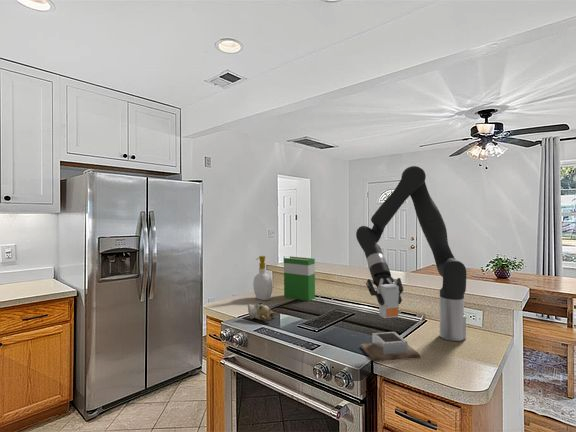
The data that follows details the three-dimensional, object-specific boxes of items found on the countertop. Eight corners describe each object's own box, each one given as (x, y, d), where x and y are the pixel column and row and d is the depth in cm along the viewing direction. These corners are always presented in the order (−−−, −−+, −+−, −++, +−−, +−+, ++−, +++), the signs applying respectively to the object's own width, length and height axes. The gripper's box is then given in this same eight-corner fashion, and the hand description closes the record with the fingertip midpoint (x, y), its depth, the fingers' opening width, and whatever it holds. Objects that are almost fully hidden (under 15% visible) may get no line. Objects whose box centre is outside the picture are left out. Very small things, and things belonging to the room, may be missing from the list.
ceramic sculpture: (252, 298, 180) (279, 302, 175) (252, 314, 181) (279, 318, 176) (243, 303, 170) (272, 308, 165) (243, 321, 170) (271, 326, 166)
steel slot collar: (394, 342, 139) (394, 331, 139) (407, 353, 129) (407, 341, 129) (372, 344, 138) (372, 333, 137) (383, 355, 127) (383, 343, 127)
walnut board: (403, 343, 141) (403, 340, 141) (420, 357, 128) (420, 354, 128) (360, 346, 138) (360, 344, 138) (373, 361, 125) (373, 358, 125)
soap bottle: (248, 298, 212) (248, 255, 211) (259, 295, 218) (259, 254, 217) (265, 302, 202) (264, 258, 201) (276, 299, 208) (275, 256, 207)
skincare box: (384, 318, 130) (384, 287, 130) (379, 315, 134) (379, 284, 134) (399, 317, 132) (399, 285, 131) (392, 313, 136) (392, 283, 135)
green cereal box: (284, 296, 215) (283, 258, 214) (291, 294, 221) (290, 256, 220) (308, 301, 205) (308, 260, 204) (315, 298, 211) (314, 258, 210)
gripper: (363, 262, 138) (375, 299, 127) (397, 260, 141) (412, 297, 129) (359, 272, 144) (370, 309, 133) (391, 271, 146) (405, 307, 135)
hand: (391, 303), depth 131 cm, fingers closed on skincare box, 6 cm apart
